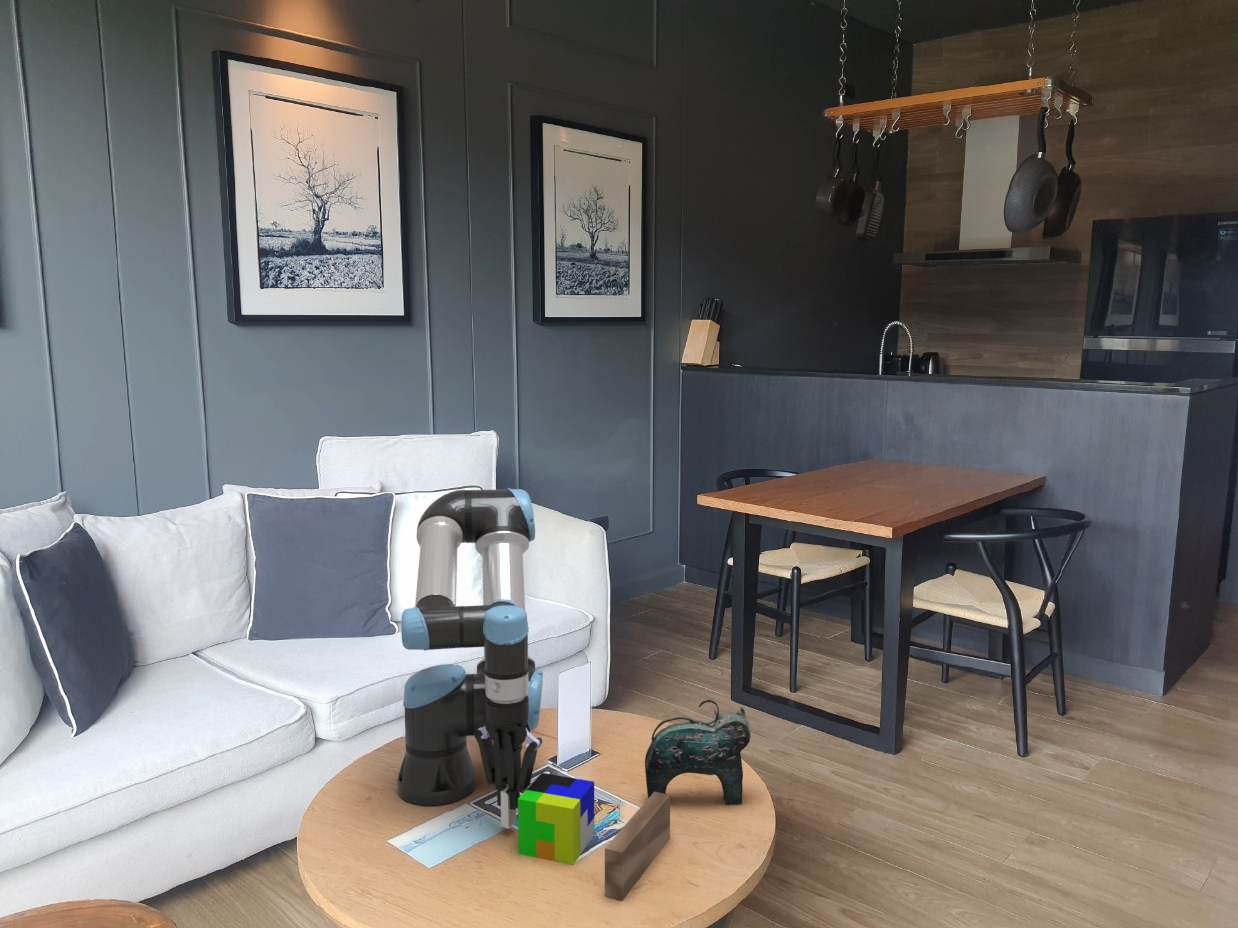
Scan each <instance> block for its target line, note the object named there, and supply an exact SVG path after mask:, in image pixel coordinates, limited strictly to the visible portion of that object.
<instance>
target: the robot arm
mask: <svg viewBox="0 0 1238 928" xmlns="http://www.w3.org/2000/svg"><path fill="white" fill-rule="evenodd" d="M535 538H536V524H535V514H534V510H533V505H532V501H531V497H530V495H529V493H528V492H527V491H526V490H524V489H520V488H509V487H507V488H505V489H466V490H465V489H458V490H453V491H450V492H448V493H447V492H446V493H445V494H443V495H441V496H440V497H438V498H437V499H435V500H434V501H433V502H432V503H431V504H430V505H429V506H428V507H427V508H426V509H425V511H424V512H423V513H422V515H421V517H420V519H419V521H418V524H417V527H416V541H417V543H418V545H419V559H418V568H417V582H416V591H415V593H416V594H415V605H414V606H413V607H409V608H405V609H404V610H403V612H402V614H401V623H400V626H401V629H400V630H401V631H400V632H401V633H400V634H401V643H402V646H403V648H404V649H406V650H408V651H410V650H413V651H415V650H416V651H417V650H418V651H421V650H422V651H432V650H447V649H448V650H449V649H463V648H464V649H467V648H468V649H469V648H471V649H473V648H483V652H484V653H483V658H482V659H481V660H480V661H478V662H477V664H476V673H467V671H466V670H465V668H464V667H463V666H462V665H459V664H452V663H446V664H445V663H444V664H438V665H432V666H429V667H426V668H423V669H421V670H418V671H417V672H415V673H413V674H412V675H410V677H408V679H407V680H406V682H405V683H404V690H403V691H404V693H403V701H402V705H403V708H404V732H405V733H404V735H405V736H404V739H405V752H404V756H403V759H402V763H401V765H400V766H401V767H400V769H399V773H398V776H397V780H396V781H397V783H396V785H397V793H398V796H399V798H401V799H403V800H404V801H406V802H408V803H411V804H414V805H419V806H441V805H446V804H451V803H454V802H457V801H460V800H462V799H464V798H467V796H469V795H470V794H472V792H474V791H475V789H476V787H477V770H476V768H475V766H474V764H473V761H472V758H471V754H470V752H469V749H468V746H467V737H471V736H472V737H473V736H474V738H475V740H476V741H477V744H478V747H479V752H480V756H481V761H482V762H481V763H482V765H483V770H484V775H485V779H486V780H485V781H486V783H487V784H488V785H489V786H491V785H493V786H494V787H495V789H496V793H497V794H496V799H497V802H496V804H497V806H498V807H500V825H501V828H504V829H510V828H511V827H513V825H514V824H516V822H517V823H518V812H517V810H518V798H519V797H520V796H521V793H522V792H524V790H526V789H527V788H528V787H529V786H530V785H531V781H532V775H533V772H534V767H535V762H536V757H537V752H538V749H540V746H541V745H542V743H543V739H542V738H541V737H535V736H534V735H533V734H532V733H531V732H533V731H535V730H536V729H537V728H538V726H539V723H540V716H541V703H542V693H543V680H544V672H543V670H540V669H536V662H535V660H534V659H533V658H531V656H529V623H528V613H527V610H526V604H525V603H526V602H525V599H526V598H525V579H524V578H525V576H524V556H523V554H524V553H526V551H528V549H529V548H530V542H533V541H534V540H535ZM461 544H474V547H475V551H477V553H478V554H479V555H481V557H482V597H483V599H482V603H483V605H457V581H458V580H457V575H458V574H457V573H458V572H457V571H458V549H459V547H460V546H461ZM524 742H525V744H524V748H525V750H524V752H523V753H524V754H523V757H522V758H521V756H522V755H521V753H522V750H523V743H524Z"/></svg>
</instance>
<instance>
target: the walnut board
mask: <svg viewBox="0 0 1238 928" xmlns="http://www.w3.org/2000/svg"><path fill="white" fill-rule="evenodd" d="M670 839H671V795H670V794H668V793H666V794H663V793H659V792H654V793H653V794H652V795H651V796H650V797H649V798H648V797H647V799H646V800H645V802H644V803H643V804H642V805H641V806H640V807H639V809H638V810H637V811H636V812H635V813H634V814H633V815H632V817H631V818H630V819H629V820H628V821H627V822H626V823H625V824H624V826H622V827H621V829H620V830H619V831H618V833H616V834H615V836H614V837H613V838H612V839H611V841H609V843H608V844H607V845H606V847H604V897H607V898H611V899H615V900H619V901H624V899H625V898H626V896H627V895H629V893H630V892H631V890H632V888H633V887H634V886H635V885H636V883H637V882H638V881H639V880H640V878H641V877H642V876H643V874H644V873H645V871H646V870H647V869H648V867H649V866H650V865H651V864H652V862H653V861H654V860H655V858H656V857H657V856H658V854H659V853H660V852H661V850H662V849H663V848H664V846H666V844H667V843H668V842H669V840H670Z"/></svg>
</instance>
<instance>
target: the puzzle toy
mask: <svg viewBox="0 0 1238 928" xmlns="http://www.w3.org/2000/svg"><path fill="white" fill-rule="evenodd" d="M517 825H518V826H517V830H518V831H517V833H518V835H517V837H518V839H517V841H518V844H517V845H518V855H521V856H525V857H526V856H527V857H531V858H536V859H541V860H546V861H547V860H548V861H551V862H555V863H556V862H557V863H562V864H567V865H571V866H574V865H575V863H576V862H577V860H578V859H579V858H580V856H582V855H581V854H582V853H583V852H584V851H585V849H586V847H587V846H588V845H589V843H590V841H592V838H593V837H594V836H595V781H593V780H587V779H581V778H576V777H570V776H569V777H568V776H562V775H557V774H551V773H546V772H541V773H540V774H539V775H538V776H537V778H536V779H535V780H534V781H532V782H531V783H530V785H529V786H528V787H527V788H526V789H525V791H523V793H522V794H520V797H519V798H518V808H517Z"/></svg>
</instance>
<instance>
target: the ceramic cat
mask: <svg viewBox="0 0 1238 928" xmlns="http://www.w3.org/2000/svg"><path fill="white" fill-rule="evenodd" d="M706 703H712V704H714V705H715V706H716V708H717V709H715V710H714V715H715V718H714V720H712V721H709V722H706V721H702V720H695V719H692V718H689V717H683V716H678V717H671V718H668V719H664V720H662V721H660V722H659V723H658V724H657V725H656V727H655V729H654V730H653V733H652V736H651V738H650V739H651V742H650V745H649V746H648V748H647V751H646V754H645V758H644V771H645V772H644V773H645V784H646V791H647V796H648V797H647V799H648V798H649V797H650V796H651V795H652V794H653V793H654V792H659V793H663V794H667V787H668V785H669V784H670V782H671V781H672V780H673V779H674V778H676V777H678V776H680V775H684V774H697V775H705V776H706V775H707V776H716V778H718V779H719V781H720V784H721V787H722V796H723V802H724V803H725V806H726V805H727V806H730V805H742V804H743V792H744V790H743V786H744V784H743V781H744V780H743V778H744V770H743V769H744V768H743V762H742V755H741V753H742V751H743V750H744V749H745V748H746V747H747V746H748V745H749V743H750V739H751V730H750V729H751V727H750V722H749V720H748V718H747V716H746V715H747V714H746V712H745V709H744V708H743V707H742V706H741V707H740V708H739V709H738V710H737V712H726V713H722V712H720V710H719V705H718V703H717V702H715V701H714V700H712V699H709V698H708V699H705V700H702V701H701V702H700V703H699V705H698V707H699V708H701V707H702V705H704V704H706ZM677 720H685V721H683V722H679V723H672V724H669V725H667V726H666V727H664V728H662V729H660V730H659V728H660V727H661V726H662V725H664V724H666V723H669V722H674V721H677ZM658 730H659V731H658ZM657 731H658V732H657ZM656 732H657V733H656Z"/></svg>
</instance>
